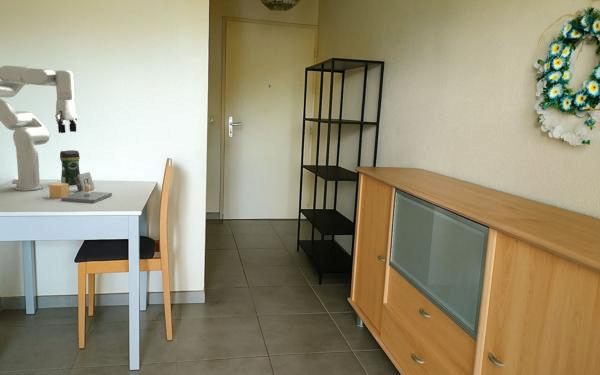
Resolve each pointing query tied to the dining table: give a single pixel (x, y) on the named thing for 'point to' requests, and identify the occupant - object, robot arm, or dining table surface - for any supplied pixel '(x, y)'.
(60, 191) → the tan cardboard cube
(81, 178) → the electrical switch
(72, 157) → the coffee jar
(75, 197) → the plate
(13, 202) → the dining table surface
